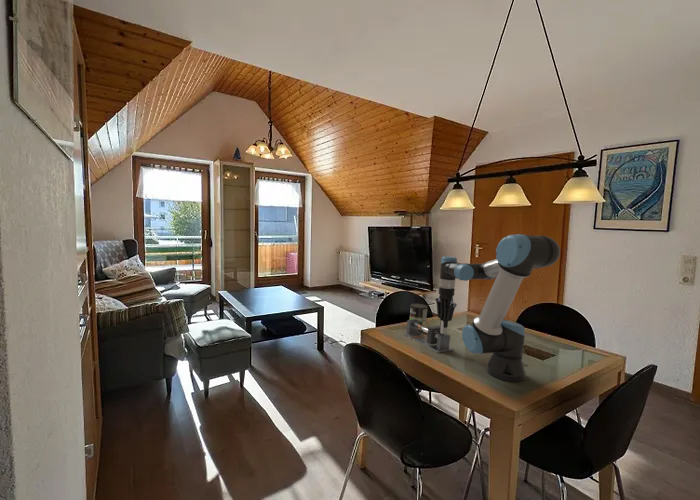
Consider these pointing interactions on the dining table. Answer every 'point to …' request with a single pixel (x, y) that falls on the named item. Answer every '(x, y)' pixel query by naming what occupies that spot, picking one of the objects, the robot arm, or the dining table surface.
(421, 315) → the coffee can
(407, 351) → the dining table surface
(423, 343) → the rail
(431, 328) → the collar
